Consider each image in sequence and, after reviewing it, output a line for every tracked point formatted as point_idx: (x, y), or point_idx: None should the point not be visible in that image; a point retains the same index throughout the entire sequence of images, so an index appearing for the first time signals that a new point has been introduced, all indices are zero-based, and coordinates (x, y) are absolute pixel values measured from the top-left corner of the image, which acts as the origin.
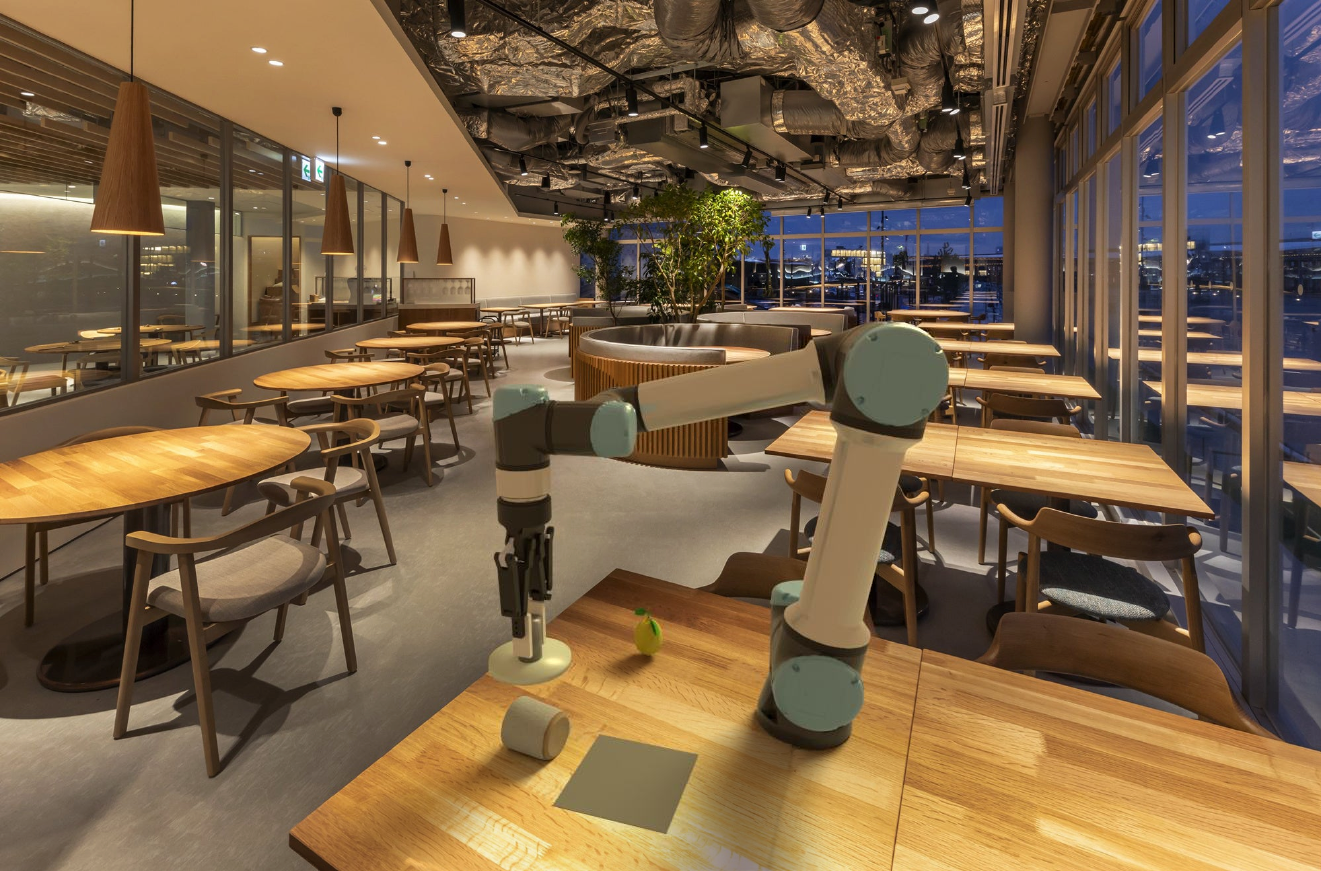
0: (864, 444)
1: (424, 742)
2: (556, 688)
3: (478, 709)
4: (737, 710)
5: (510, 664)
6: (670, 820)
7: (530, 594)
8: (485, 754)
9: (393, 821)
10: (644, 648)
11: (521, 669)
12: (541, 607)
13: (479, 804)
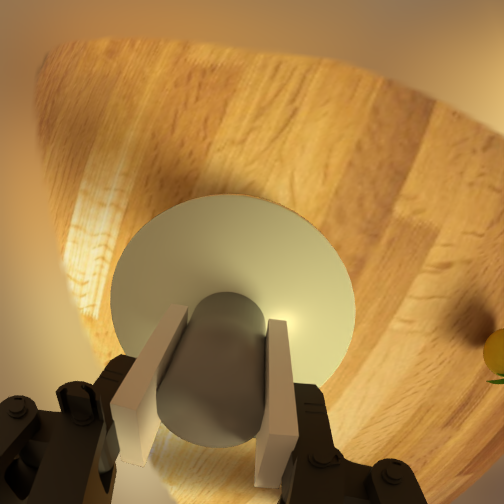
0: None
1: (235, 57)
2: (419, 225)
3: (342, 105)
4: (360, 453)
5: (171, 284)
6: (161, 421)
7: (294, 470)
8: (223, 168)
9: (81, 117)
10: (486, 350)
11: (156, 322)
12: (255, 470)
13: (123, 210)
